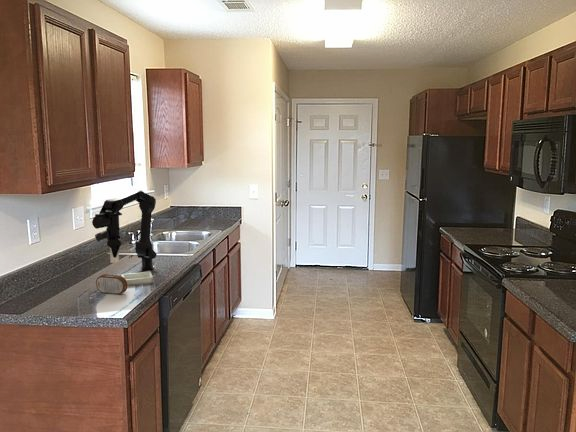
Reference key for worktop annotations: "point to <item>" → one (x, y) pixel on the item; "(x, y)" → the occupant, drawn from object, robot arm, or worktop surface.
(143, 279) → the tray
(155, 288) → the worktop surface
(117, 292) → the tin
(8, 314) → the worktop surface
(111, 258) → the cream block
